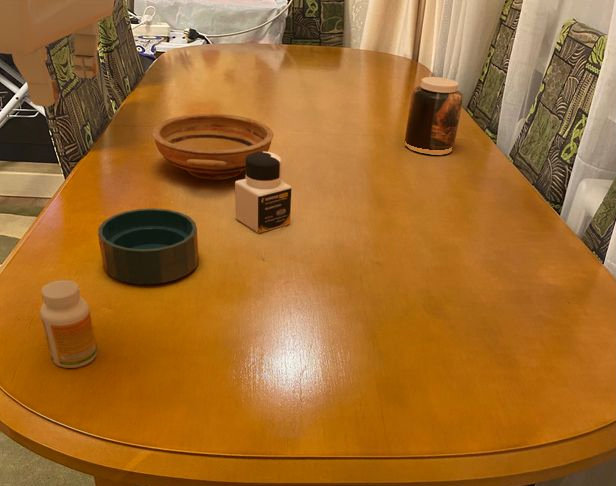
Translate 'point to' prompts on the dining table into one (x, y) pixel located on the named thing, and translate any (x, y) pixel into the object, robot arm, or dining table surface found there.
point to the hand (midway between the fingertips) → (68, 89)
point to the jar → (434, 114)
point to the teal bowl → (148, 245)
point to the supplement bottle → (67, 325)
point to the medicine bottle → (263, 193)
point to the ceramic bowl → (211, 143)
